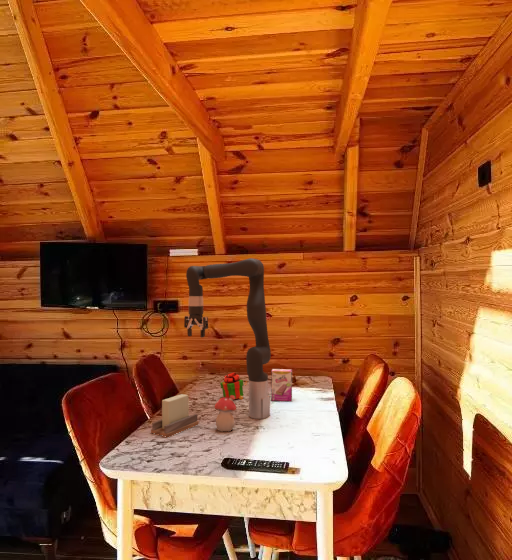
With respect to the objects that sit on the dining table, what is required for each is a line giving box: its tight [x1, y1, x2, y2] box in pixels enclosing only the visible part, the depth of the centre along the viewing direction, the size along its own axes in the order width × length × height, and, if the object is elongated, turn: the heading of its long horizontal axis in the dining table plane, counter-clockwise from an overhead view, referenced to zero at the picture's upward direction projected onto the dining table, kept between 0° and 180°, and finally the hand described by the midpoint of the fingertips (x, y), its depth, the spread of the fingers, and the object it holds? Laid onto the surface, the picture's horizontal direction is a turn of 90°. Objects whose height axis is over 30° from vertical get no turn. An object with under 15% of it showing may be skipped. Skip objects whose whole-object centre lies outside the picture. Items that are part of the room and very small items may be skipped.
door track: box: [150, 413, 200, 438], centre depth 181 cm, size 10×19×4 cm, turn 146°
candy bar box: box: [270, 368, 293, 402], centre depth 224 cm, size 11×5×16 cm, turn 84°
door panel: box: [161, 393, 190, 429], centre depth 181 cm, size 4×12×12 cm, turn 146°
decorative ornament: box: [214, 395, 237, 432], centre depth 179 cm, size 9×7×15 cm
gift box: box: [219, 372, 249, 401], centre depth 227 cm, size 20×19×14 cm
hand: (196, 336), depth 212 cm, fingers open, 8 cm apart
